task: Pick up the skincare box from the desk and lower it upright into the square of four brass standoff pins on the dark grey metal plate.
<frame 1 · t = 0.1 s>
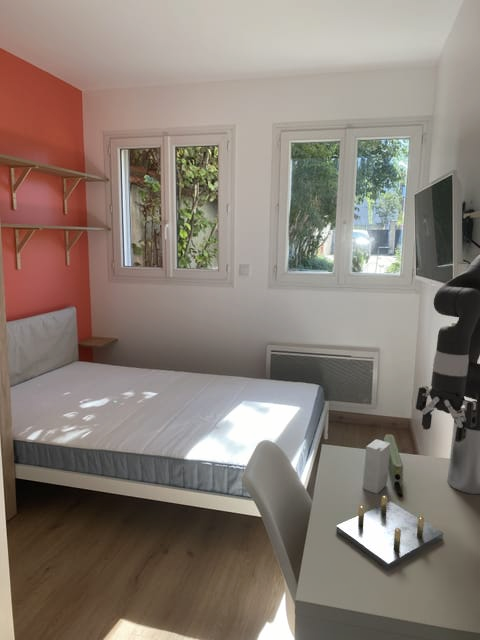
hand: (442, 434, 110), 17 cm above the table, tool pointing down, fingers open, 8 cm apart
standoff plate: (389, 535, 99), on the table
skincare box: (374, 488, 118), on the table
handheld radio: (393, 475, 126), on the table
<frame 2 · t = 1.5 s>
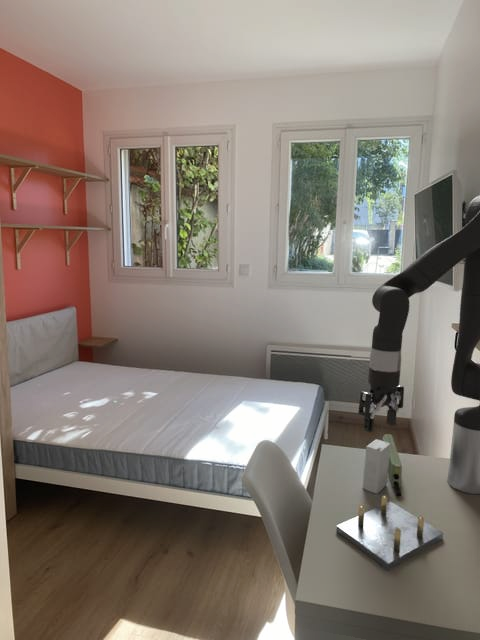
hand: (379, 427, 115), 17 cm above the table, tool pointing down, fingers open, 8 cm apart
nothing on the table moved.
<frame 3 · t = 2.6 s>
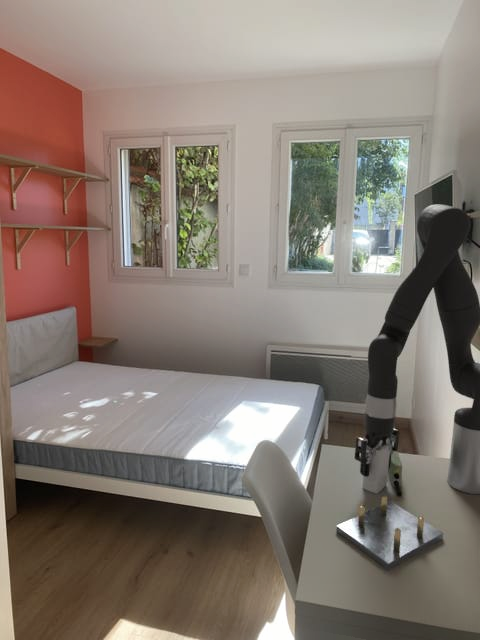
hand: (375, 471, 117), 5 cm above the table, tool pointing down, fingers open, 7 cm apart
nothing on the table moved.
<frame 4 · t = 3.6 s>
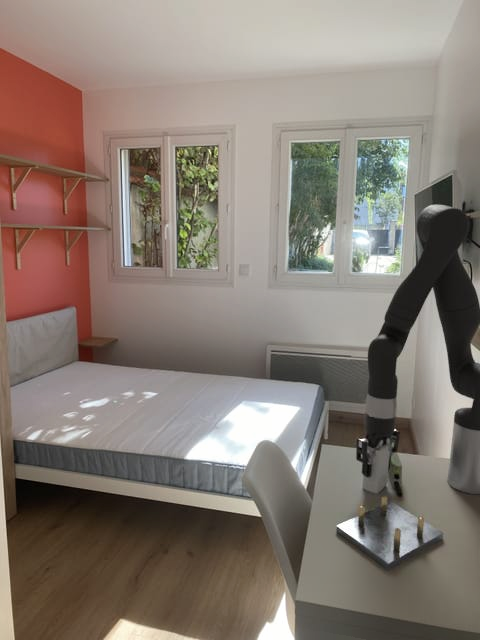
hand: (375, 472, 118), 4 cm above the table, tool pointing down, fingers closed on skincare box, 6 cm apart
skincare box: (374, 488, 118), on the table, touching gripper
everything else where it was.
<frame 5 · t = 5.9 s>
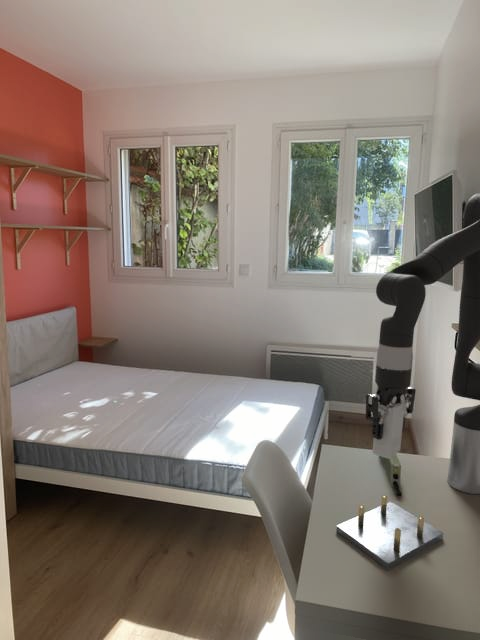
hand: (388, 434, 103), 20 cm above the table, tool pointing down, fingers closed on skincare box, 6 cm apart
skincare box: (386, 453, 104), point 16 cm above the table, touching gripper
everything else where it was.
when the fingers open (7 cm above the table, at t = 8.8 s): skincare box drops 1 cm, resting on standoff plate.
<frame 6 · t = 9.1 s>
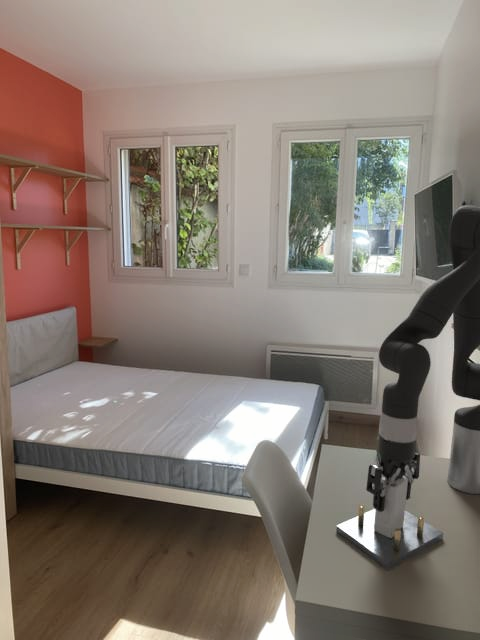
hand: (391, 503, 98), 8 cm above the table, tool pointing down, fingers open, 8 cm apart
skincare box: (388, 530, 99), point 1 cm above the table, touching standoff plate
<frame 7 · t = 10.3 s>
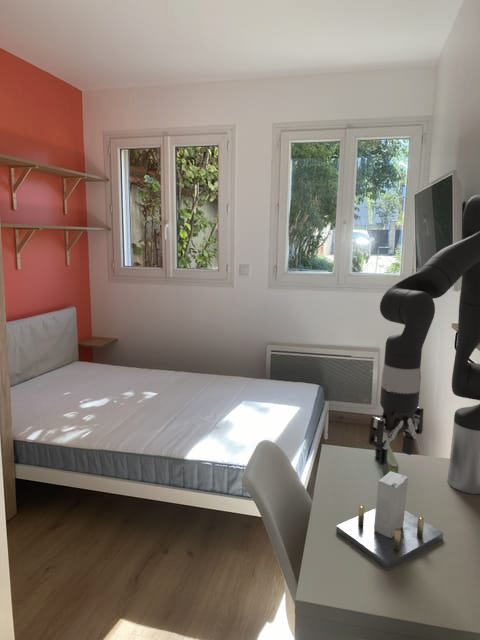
hand: (394, 458, 96), 18 cm above the table, tool pointing down, fingers open, 8 cm apart
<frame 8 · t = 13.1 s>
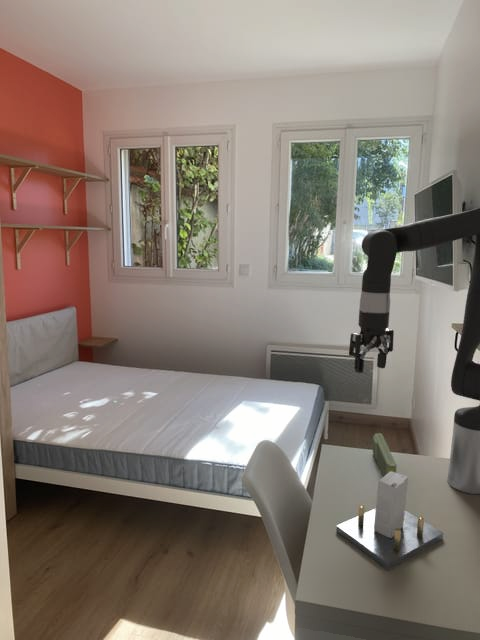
hand: (370, 370, 119), 30 cm above the table, tool pointing down, fingers open, 8 cm apart
at the end: skincare box 0.2 cm off-centre on the standoff plate, point 1.3 cm above the standoff plate's base; skincare box tilted 0°; the gripper is holding nothing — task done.
